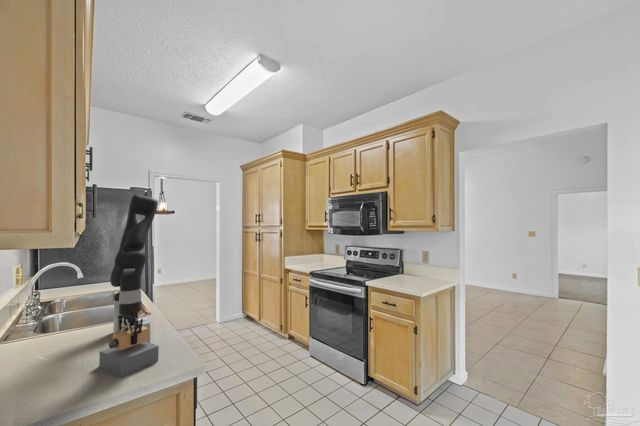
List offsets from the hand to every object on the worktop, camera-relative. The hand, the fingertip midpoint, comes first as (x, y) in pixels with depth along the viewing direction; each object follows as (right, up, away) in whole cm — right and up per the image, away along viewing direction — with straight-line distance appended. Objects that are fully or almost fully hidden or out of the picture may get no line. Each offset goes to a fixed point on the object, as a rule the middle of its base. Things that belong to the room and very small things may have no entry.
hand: (129, 342), depth 116 cm
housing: (0, -1, 0) cm, 1 cm away
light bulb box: (-7, -9, +15) cm, 19 cm away
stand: (0, -8, 0) cm, 8 cm away
